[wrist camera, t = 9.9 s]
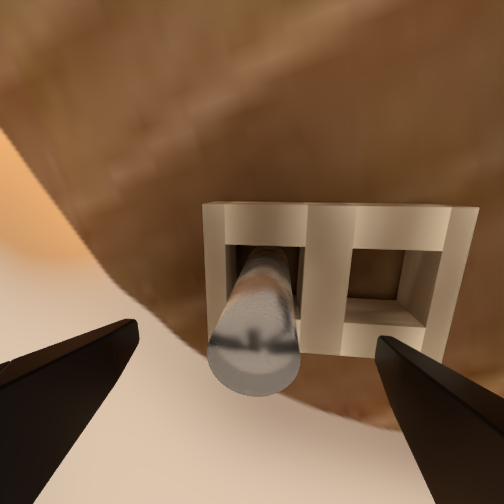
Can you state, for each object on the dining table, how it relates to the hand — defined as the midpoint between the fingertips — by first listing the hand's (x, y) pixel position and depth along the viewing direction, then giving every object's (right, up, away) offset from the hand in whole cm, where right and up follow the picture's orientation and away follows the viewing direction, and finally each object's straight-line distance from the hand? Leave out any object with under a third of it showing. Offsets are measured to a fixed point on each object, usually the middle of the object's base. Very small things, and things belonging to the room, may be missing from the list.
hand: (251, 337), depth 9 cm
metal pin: (+1, +2, +8) cm, 9 cm away
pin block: (+5, +2, +8) cm, 9 cm away
